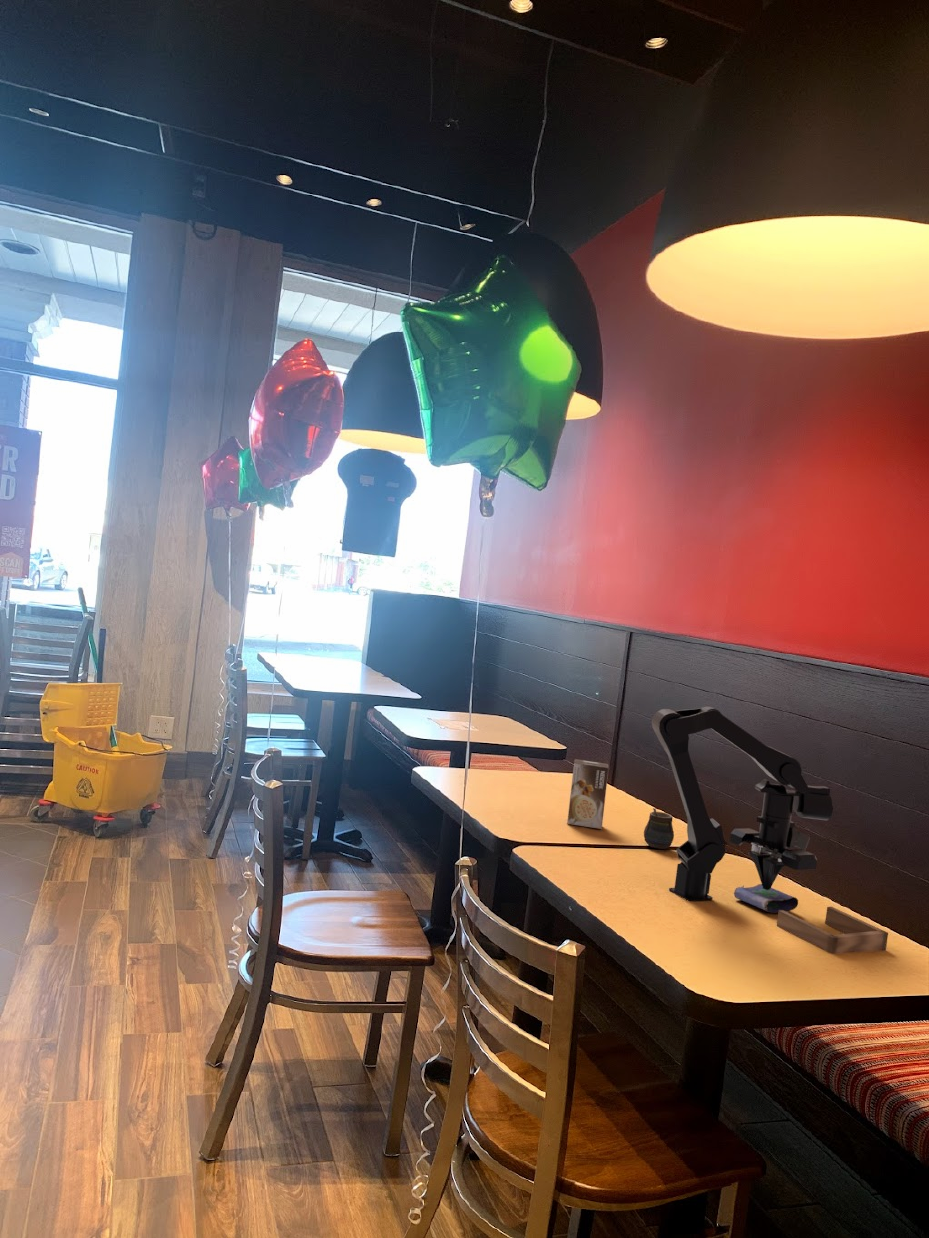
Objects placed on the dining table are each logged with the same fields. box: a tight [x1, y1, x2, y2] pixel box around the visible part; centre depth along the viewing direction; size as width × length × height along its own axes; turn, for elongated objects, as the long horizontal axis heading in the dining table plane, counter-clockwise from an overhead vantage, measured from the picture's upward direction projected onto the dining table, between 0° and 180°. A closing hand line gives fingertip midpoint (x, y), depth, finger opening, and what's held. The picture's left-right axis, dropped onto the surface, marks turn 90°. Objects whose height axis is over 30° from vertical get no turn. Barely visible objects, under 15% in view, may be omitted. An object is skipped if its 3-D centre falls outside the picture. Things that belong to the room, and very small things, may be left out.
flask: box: [733, 883, 799, 914], centre depth 189 cm, size 9×3×11 cm
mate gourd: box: [643, 807, 675, 850], centre depth 226 cm, size 7×8×10 cm
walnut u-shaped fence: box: [776, 906, 889, 955], centre depth 174 cm, size 14×13×4 cm
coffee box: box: [566, 758, 610, 830], centre depth 239 cm, size 9×6×16 cm
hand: (766, 889), depth 189 cm, fingers closed
